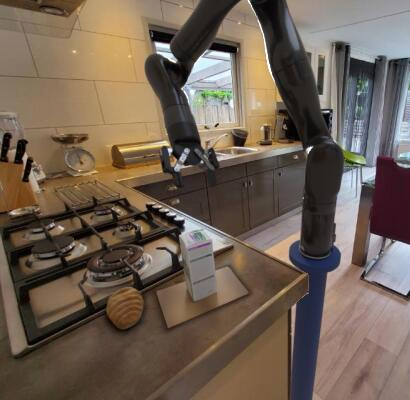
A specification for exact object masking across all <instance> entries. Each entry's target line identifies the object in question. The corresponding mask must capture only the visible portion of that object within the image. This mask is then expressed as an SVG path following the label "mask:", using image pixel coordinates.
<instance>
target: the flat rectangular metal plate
mask: <svg viewBox="0 0 410 400" xmlns="http://www.w3.org/2000/svg"><path fill="white" fill-rule="evenodd" d="M215 273H216V284H217V293H215V294H213V295H210V296H208V297H206V298H203V299H201V300H198V301H195V302H194V301H193V299H192V297H191V295H190V293H189V291H188V289H187V287H186V280H184V281H182V282H179V283H176V284H174V285H171V286H167V287H164V288H162V289H159V290H157V291H155V293H156V296H157V300H158V302H159V306H160V310H161V311H162V315H163V318H164V321H165V324H166V327H167V329H168V330H169V329H171V328H174V327H175V326H178V325H180V324H183V323H185V322H187V321H189V320H193V319H194V318H196V317H199V316H201V315H204V314H206V313H208V312H210V311H213V310H215V309H217V308H219V307H222V306H224V305H227V304H229V303H231V302H233V301H236V300H238V299H240V298H243V297H245V296H247V295H249V294H250V292H249V291H248V290H247V289H246V287H245V286H244V285H243V283H242V282H241V281H240V280H239V278H238V277H237V275H235V273H234V272H233V271H232V269H231V268H230V267H229V266H228V265H227V266H225V267H222V268H221V267H220V268H219V269H215Z"/></svg>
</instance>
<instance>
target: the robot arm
mask: <svg viewBox="0 0 410 400" xmlns="http://www.w3.org/2000/svg"><path fill="white" fill-rule="evenodd" d="M241 1H242V0H199V1H198V3H197V4H196V6H195V8H194V10H193V11H192V12H191V14H190V15H189V17H188V18H187V19H186V20H185V22H184V23H183V24H182V26H181V27H180V28H179V30H178V31H177V32H176V33H175V35H174V36H173V38H172V39H171V41H170V42H169V50H170V53H171V54H172V56H173V57H174V58H175V60H176V61H174V60H173V59H170V58H169V57H166V56H165V55H163V54H161V53H156V52H154V53H153V52H152V53H151V54H149V55H148V56H146V58H145V61H144V65H143V66H144V67H143V68H144V75H145V77H146V81H147V82H148V84H149V85H150V88H151V89H152V91H153V92H154V94H155V96H156V97H157V99H158V100H159V102H160V103H159V104H160V108H161V111H162V115H163V121H164V122H163V124H164V128H165V130H166V134H167V138H168V142H169V145H170V147H168V146H167V145H162V147H161V148H160V149H159V151H158V155H159V156H158V157H159V160H160V166H161V171H162V173H163V174H170V175H171V176H172V180H173V183H174V187H175V188H177V189H178V191H181V190H183V189H185V182H184V179H183V176H182V172H181V171H180V170H181V168H182V166H184V167H190V166H192V167H198V168H199V169H200V170H203V171H204V172H205V173H206V174H205V175H206V178H207V182H208V186H209V188H214V187H215V186H216V185H217V183H218V180H217V177H216V173H215V172H216V171H217V170H218V169H220V167H221V166H220V163H219V160H218V157H217V154H216V151H215V148H214V147H210V148H207V149H206V148H205V149H204V147H203V146H202V139H201V136H200V133H199V128H198V126H197V122H196V118H195V116H194V113H193V111H192V109H191V104H190V102H189V97H188V95H187V93H186V91H185V90H183V88H185V86H187V84H188V81H189V79H190V77H191V74H192V72H193V70H194V68H195V66H196V64H197V62H199V60H200V59H201V58H202V57H203V56H204V55H205V53H207V51H208V50H209V49H210V48H211V46H212V44H213V43H214V41H215V39H216V38H217V35H218V33H219V31H220V28H221V26H222V24H223V22H224V20H225V19H226V17H227V16H228V14H229V13H230V12H231V11H232V10H233V8H234V7H236V6H237V5H238V4H239V3H240V2H241ZM247 1H248V3H249V4H250V7H251V9H252V11H253V12H254V14H255V17H256V19H257V22H258V24H259V27H260V30H261V33H262V36H263V41H264V48H265V55H266V61H267V66H268V70H269V72H270V75H271V78H272V80H273V82H274V85H275V88H276V90H277V93H278V95H279V97H280V99H281V101H282V103H283V105H284V108H285V109H286V111H287V112H288V115H289V116H290V118H291V120H292V121H293V123H294V125H295V128H296V130H297V134H298V137H299V140H300V144H301V146H302V150H303V155H304V160H305V175H304V176H305V177H304V186H303V190H302V205H301V221H300V233H299V235H300V236H299V240H300V243H299V252H300V254H301V255H302V256H304V257H305V258H307V259H311V260H324V259H327V258H328V257H329V256H330V255H331V252H333V246H334V245H335V243H336V238H337V234H336V231H337V230H336V229H337V223H336V221H335V220H336V219H335V218H336V210H337V203H338V202H337V201H338V195H339V193H340V191H341V186H342V181H343V174H344V167H345V154H344V149H343V148H342V147H341V146H340V144H339V143H337V142H336V141H335V139H334V138H333V137H332V134H331V132H330V130H329V128H328V126H327V123H326V121H325V118H324V115H323V112H322V106H321V99H320V94H319V88H318V84H317V79H316V76H315V72H314V70H313V66H312V63H311V61H310V58H309V56H308V53H307V50H306V47H305V46H304V43H303V40H302V38H301V36H300V33H299V31H298V29H297V27H296V24H295V22H294V20H293V16H292V14H291V12H290V9H289V6H288V2H287V0H247ZM170 156H172V157H173V158H174V159H176V161H175V163H174V164H173V166H172V164H171V158H170Z"/></svg>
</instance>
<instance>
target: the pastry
mask: <svg viewBox="0 0 410 400" xmlns="http://www.w3.org/2000/svg"><path fill="white" fill-rule="evenodd" d="M144 303H145V301H144V299H143V297H142V293H141V291H140V290H138V289H136V288H134V287H132V286H125V287H122V288H119V289H117V290H116V291H115V292H113V293H111V295H110V296H109V298H108V300H107V302H106V308H105V312H106V315H107V317H108V319H109V320H110V321H111V322H112V323H113V325H114V326H115V327H116V328H117V329H120V330H122V331H123V330H126V329H129V328H131V327H133V326H134V325H136V324H137V323H139V321H140V320H141V318H142V315H143V310H144Z"/></svg>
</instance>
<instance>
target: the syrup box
mask: <svg viewBox="0 0 410 400" xmlns="http://www.w3.org/2000/svg"><path fill="white" fill-rule="evenodd" d="M178 239H179V246H180V247H179V248H180V253H181V259H182V267H183V273H184V279H185V280H184V281H186V287H187V289H188V291H189V293H190V295H191V297H192V299H193V301H194V302H195V301H198V300H201V299H203V298H206V297H208V296H210V295H213V294H215V293H217V284H216V273H215V271H216V264H215V256H214V255H215V254H214V246H213V245H214V244H213V239H212V238H211V236H210V235H209V234H208V233H207V232H206V231H205V229H204V228H199V229H195V230H191V231H187V232H184V233H181V234H179V235H178Z"/></svg>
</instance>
